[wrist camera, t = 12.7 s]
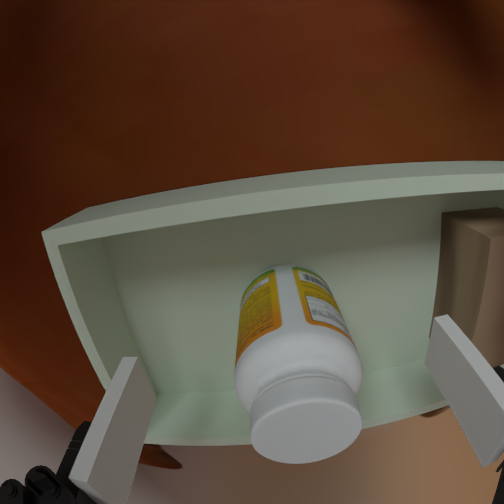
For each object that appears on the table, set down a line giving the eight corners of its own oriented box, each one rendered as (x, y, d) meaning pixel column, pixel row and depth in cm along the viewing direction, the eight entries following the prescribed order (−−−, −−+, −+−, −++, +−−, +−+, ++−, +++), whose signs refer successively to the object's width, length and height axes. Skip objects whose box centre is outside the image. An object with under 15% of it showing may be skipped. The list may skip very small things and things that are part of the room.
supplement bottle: (246, 344, 20) (240, 477, 11) (234, 266, 18) (214, 393, 9) (331, 335, 19) (371, 461, 10) (330, 256, 18) (393, 370, 8)
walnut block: (428, 336, 20) (459, 380, 15) (441, 212, 17) (490, 239, 12) (480, 322, 19) (514, 359, 15) (497, 206, 16) (547, 229, 12)
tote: (152, 395, 22) (136, 442, 18) (87, 207, 17) (41, 231, 13) (486, 342, 21) (515, 377, 16) (511, 161, 16) (560, 173, 11)
